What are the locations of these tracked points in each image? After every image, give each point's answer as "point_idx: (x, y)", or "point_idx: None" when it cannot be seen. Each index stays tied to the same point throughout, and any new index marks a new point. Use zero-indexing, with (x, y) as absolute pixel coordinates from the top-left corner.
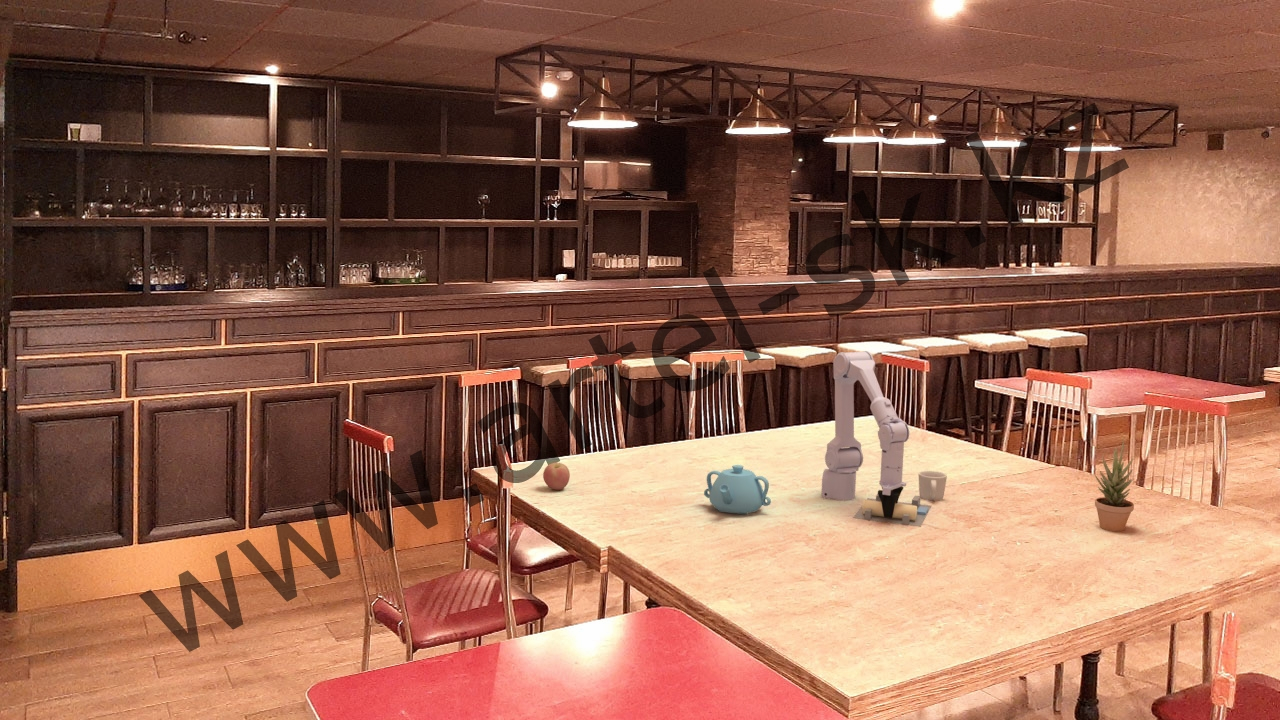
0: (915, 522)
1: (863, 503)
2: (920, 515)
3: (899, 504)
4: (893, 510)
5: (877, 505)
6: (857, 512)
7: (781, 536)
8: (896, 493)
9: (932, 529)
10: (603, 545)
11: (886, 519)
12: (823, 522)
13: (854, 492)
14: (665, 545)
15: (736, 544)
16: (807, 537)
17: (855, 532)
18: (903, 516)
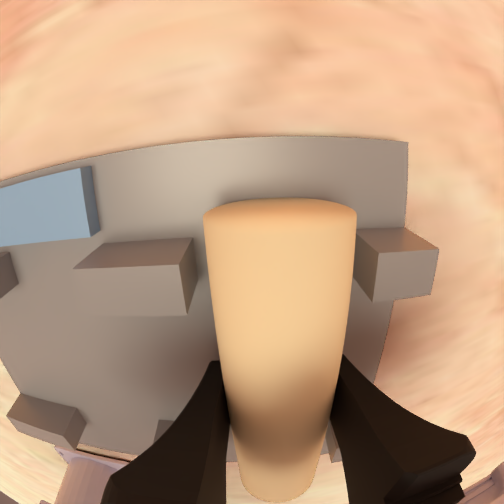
0: (325, 189)
1: (306, 488)
2: (111, 196)
3: (299, 389)
4: (364, 377)
5: (315, 457)
6: None
7: (477, 447)
8: (422, 483)
9: (338, 67)
10: None
11: None
12: None
13: (88, 481)
14: (487, 473)
15: (499, 449)
16: (489, 423)
17: (467, 382)
18: (428, 284)
